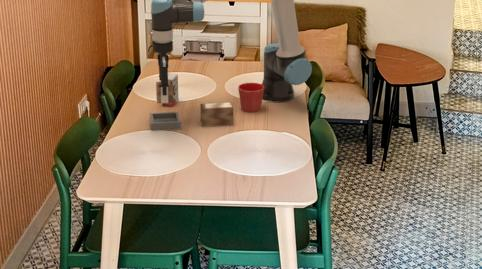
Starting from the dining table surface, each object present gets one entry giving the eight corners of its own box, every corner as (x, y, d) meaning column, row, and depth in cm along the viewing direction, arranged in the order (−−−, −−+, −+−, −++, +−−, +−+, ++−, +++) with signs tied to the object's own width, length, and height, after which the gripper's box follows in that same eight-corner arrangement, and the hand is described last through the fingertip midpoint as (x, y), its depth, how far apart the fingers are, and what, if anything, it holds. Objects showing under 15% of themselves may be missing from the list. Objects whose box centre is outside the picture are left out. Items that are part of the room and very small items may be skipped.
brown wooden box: (230, 118, 272) (230, 101, 270) (233, 124, 267) (233, 107, 264) (200, 120, 270) (200, 103, 268) (202, 126, 265) (202, 108, 262)
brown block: (172, 98, 265) (171, 80, 263) (173, 102, 261) (172, 84, 258) (156, 99, 264) (156, 81, 262) (157, 103, 260) (156, 85, 257)
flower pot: (234, 111, 280) (234, 89, 276) (243, 103, 290) (243, 81, 286) (258, 115, 277) (259, 92, 273) (267, 106, 286) (267, 84, 282)
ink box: (173, 106, 284) (172, 79, 280) (161, 105, 285) (160, 78, 281) (179, 99, 292) (178, 73, 288) (167, 99, 293) (167, 72, 288)
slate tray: (178, 118, 272) (177, 111, 271) (180, 128, 262) (180, 122, 261) (150, 119, 270) (149, 113, 269) (151, 130, 260) (151, 123, 259)
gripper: (150, 34, 261) (152, 92, 270) (153, 47, 245) (155, 108, 254) (170, 34, 262) (172, 92, 271) (174, 46, 246) (176, 107, 255)
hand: (164, 100), depth 262 cm, fingers closed on brown block, 5 cm apart
